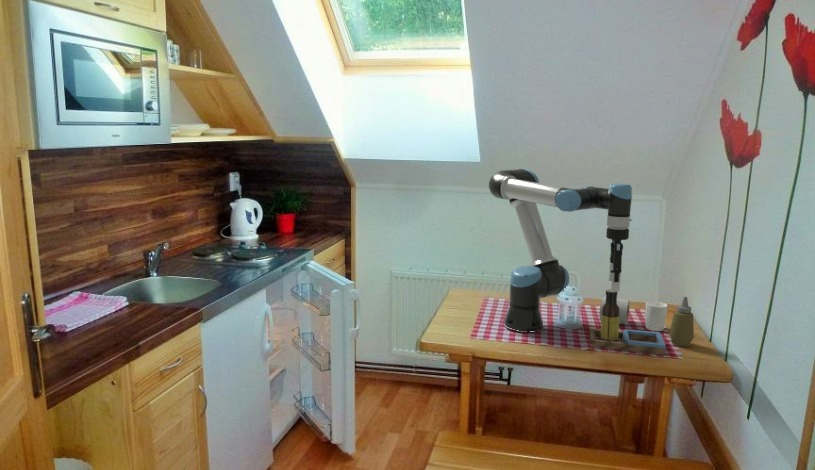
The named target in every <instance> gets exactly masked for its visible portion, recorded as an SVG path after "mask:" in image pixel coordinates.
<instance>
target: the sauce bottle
mask: <svg viewBox="0 0 815 470" xmlns="http://www.w3.org/2000/svg"><path fill="white" fill-rule="evenodd" d="M605 297H606V303H605V304H604V306H603V308H602V319H601V321H600V322H601V325H600V329H601V337H600V340H605V341H615V342H619V339H618V338H619V331H620V324H619V317H620V315H619V312H620V310H619V307H618V305H617V299H618V291H611V288H610V289H606V290H605Z"/></svg>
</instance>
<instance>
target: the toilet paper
mask: <svg viewBox="0 0 815 470" xmlns="http://www.w3.org/2000/svg"><path fill="white" fill-rule="evenodd" d="M605 303H606V296H603V297H602V298H601V300H600V309H599V321H600V322H601V319H602V308H603V306H604V304H605ZM617 305H618V307H619V310H620V312H619V315H620V317H619V325H624V326H626V325H628V321H629V317H630V305H631V301H630V299H623V298H617Z"/></svg>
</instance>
